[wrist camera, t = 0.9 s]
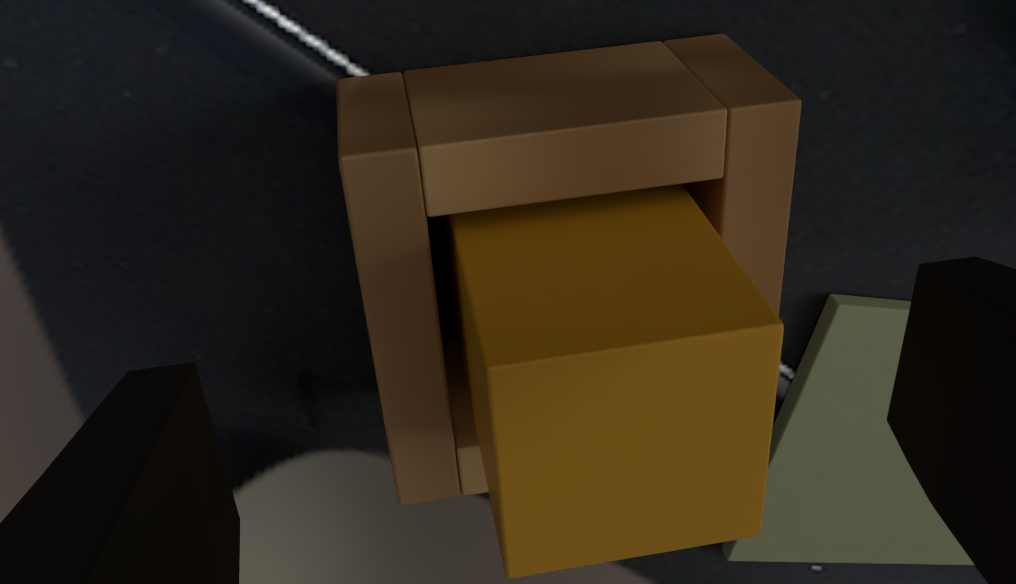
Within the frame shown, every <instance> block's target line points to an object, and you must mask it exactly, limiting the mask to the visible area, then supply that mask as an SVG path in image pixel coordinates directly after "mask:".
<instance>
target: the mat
mask: <svg viewBox="0 0 1016 584" xmlns="http://www.w3.org/2000/svg"><path fill="white" fill-rule="evenodd" d="M910 305H911V301H903V300H892V299H881V298H870V297H860V296H849V295H838V294H830V295H829V296H828V299H827V301H826V303H825V306H824V308H823V310H822V313H821V315H820V318H819V320H818V322H817V325H816V327H815V329H814V332H813V334H812V336H811V339H810V341H809V343H808V346H807V348H806V350H805V353H804V355H803V357H802V360H801V362H800V364H799V367H798V369H797V371H796V374H795V376H794V378H793V381H792V383H791V385H790V388H789V390H788V393H787V395H786V397H785V400H784V402H783V404H782V407H781V409H780V411H779V414H778V416H777V418H776V421H775V423H774V425H773V428H772V436H771V445H770V454H769V463H768V472H767V481H766V490H765V498H764V507H763V516H762V525H761V533H760V535H758V536H755V537H749V538H743V539H738V540H732V541H726V542H724V543H723V545H722V550H723V552H724V554H725V556H726V559H727V560H728V561H760V562H819V563H877V564H935V565H974V563H973V562H972V561H971V559H970V558H969V556H968V555H967V554H966V552H965V551H964V550H963V548H962V547H961V545H960V544H959V543H958V541H957V540H956V538H955V537H954V536H953V534H952V533H951V531H950V530H949V529H948V527H947V526H946V524H945V523H944V522H943V520H942V519H941V517H940V516H939V514H938V513H937V512H936V510H935V509H934V507H933V506H932V504H931V503H930V501H929V499H928V498H927V496H926V494H925V492H924V490H923V489H922V487H921V485H920V483H919V482H918V480H917V478H916V476H915V474H914V473H913V471H912V469H911V467H910V465H909V463H908V461H907V460H906V458H905V456H904V454H903V452H902V450H901V448H900V446H899V444H898V442H897V440H896V438H895V436H894V434H893V432H892V430H891V428H890V426H889V424H888V422H887V420H886V419H887V415H888V410H889V405H890V400H891V396H892V391H893V386H894V381H895V377H896V372H897V367H898V362H899V358H900V353H901V348H902V343H903V339H904V334H905V329H906V324H907V320H908V315H909V310H910Z"/></svg>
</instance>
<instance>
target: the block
mask: <svg viewBox="0 0 1016 584" xmlns="http://www.w3.org/2000/svg"><path fill="white" fill-rule="evenodd" d="M442 220H443V228H444V237H445V246H446V254H447V263H448V272H449V280H450V289H451V298H452V306H453V315H454V323H455V328H456V333H457V338H458V343H459V348H460V353H461V358H462V363H463V368H464V373H465V378H466V382H467V387H468V392H469V397H470V402H471V407H472V412H473V417H474V422H475V427H476V432H477V437H478V442H479V447H480V452H481V457H482V462H483V467H484V472H485V477H486V482H487V486H488V491H489V496H490V501H491V506H492V511H493V516H494V521H495V526H496V531H497V536H498V541H499V546H500V551H501V556H502V561H503V565H504V571H505V575H506V576H507V578H517V577H522V576H528V575H534V574H540V573H546V572H552V571H558V570H563V569H569V568H575V567H581V566H586V565H592V564H598V563H604V562H610V561H616V560H621V559H627V558H633V557H639V556H645V555H651V554H656V553H662V552H668V551H674V550H680V549H685V548H691V547H697V546H703V545H709V544H714V543H720V542H726V541H732V540H738V539H743V538H749V537H755V536H758V535H760V533H761V525H762V516H763V507H764V498H765V490H766V481H767V472H768V463H769V454H770V445H771V436H772V428H773V419H774V410H775V401H776V392H777V383H778V374H779V366H780V357H781V348H782V339H783V330H784V325H783V323H782V321H781V320H780V319H779V317H778V316H777V315H776V313H775V312H774V310H773V309H772V308H771V306H770V305H769V304H768V302H767V301H766V299H765V298H764V297H763V295H762V294H761V292H760V291H759V290H758V288H757V287H756V286H755V284H754V283H753V281H752V280H751V279H750V277H749V276H748V274H747V273H746V272H745V270H744V269H743V268H742V266H741V265H740V263H739V262H738V261H737V259H736V258H735V257H734V255H733V254H732V252H731V251H730V250H729V248H728V247H727V245H726V244H725V243H724V241H723V240H722V239H721V237H720V236H719V234H718V233H717V232H716V230H715V229H714V228H713V226H712V225H711V223H710V222H709V221H708V219H707V218H706V216H705V215H704V214H703V212H702V211H701V210H700V208H699V207H698V205H697V204H696V203H695V201H694V200H693V199H692V197H691V196H690V194H689V193H688V192H687V190H686V189H685V187H684V186H683V185H682V184H675V185H667V186H660V187H652V188H645V189H637V190H630V191H622V192H614V193H607V194H599V195H592V196H584V197H577V198H569V199H562V200H554V201H547V202H539V203H531V204H524V205H516V206H509V207H501V208H494V209H486V210H479V211H471V212H464V213H456V214H448V215H442Z"/></svg>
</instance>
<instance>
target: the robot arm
mask: <svg viewBox="0 0 1016 584" xmlns="http://www.w3.org/2000/svg"><path fill="white" fill-rule="evenodd" d="M886 420H887V422H888V424H889V426H890V428H891V430H892V432H893V434H894V436H895V438H896V440H897V442H898V444H899V446H900V448H901V450H902V452H903V454H904V456H905V458H906V460H907V461H908V463H909V465H910V467H911V469H912V471H913V473H914V474H915V476H916V478H917V480H918V482H919V483H920V485H921V487H922V489H923V490H924V492H925V494H926V496H927V498H928V499H929V501H930V503H931V504H932V506H933V507H934V509H935V510H936V512H937V513H938V514H939V516H940V517H941V519H942V520H943V522H944V523H945V524H946V526H947V527H948V529H949V530H950V531H951V533H952V534H953V536H954V537H955V538H956V540H957V541H958V543H959V544H960V545H961V547H962V548H963V550H964V551H965V552H966V554H967V555H968V556H969V558H970V559H971V561H972V562H973V563H974V565H975V566H976V568H977V569H978V570H979V572H980V573H981V574H982V576H983V577H984V579H985V580H986V581H987V583H988V584H1016V270H1015V269H1012V268H1009V267H1006V266H1004V265H1001V264H998V263H995V262H991V261H988V260H985V259H982V258H979V257H968V258H961V259H953V260H946V261H939V262H931V263H924V264H919V267H918V272H917V277H916V281H915V286H914V291H913V296H912V301H911V305H910V310H909V315H908V320H907V324H906V329H905V334H904V339H903V343H902V348H901V353H900V358H899V362H898V367H897V372H896V377H895V381H894V386H893V391H892V396H891V400H890V405H889V410H888V415H887V419H886ZM239 550H240V517H239V514H238V510H237V507H236V504H235V500H234V496H233V493H232V489H231V486H230V482H229V479H228V475H227V472H226V469H225V465H224V462H223V458H222V455H221V451H220V448H219V444H218V441H217V437H216V434H215V430H214V427H213V423H212V420H211V416H210V413H209V409H208V406H207V403H206V399H205V396H204V392H203V389H202V385H201V382H200V378H199V375H198V371H197V368H196V364H195V362H192V363H185V364H177V365H170V366H162V367H155V368H148V369H140V370H133V371H128V372H127V373H126V374H125V375H124V377H123V378H122V379H121V380H120V381H119V382H118V383H117V385H116V386H115V387H114V388H113V389H112V391H111V392H110V393H109V394H108V395H107V397H106V398H105V399H104V400H103V401H102V403H101V404H100V405H99V406H98V407H97V409H96V410H95V411H94V412H93V413H92V415H91V416H90V417H89V418H88V419H87V421H86V422H85V423H84V424H83V426H82V427H81V428H80V429H79V430H78V432H77V433H76V434H75V436H74V437H73V438H72V439H71V440H70V441H69V443H68V444H67V445H66V446H65V447H64V449H63V450H62V451H61V452H60V454H59V455H58V456H57V457H56V458H55V460H54V461H53V462H52V463H51V464H50V466H49V467H48V468H47V469H46V470H45V472H44V473H43V474H42V475H41V476H40V478H39V479H38V480H37V481H36V483H34V485H33V486H32V487H31V488H30V489H29V490H28V492H27V493H26V494H25V495H24V496H23V498H22V499H21V500H20V501H19V502H18V503H17V504H16V506H15V507H14V508H13V509H12V510H11V511H10V513H9V514H8V515H7V516H6V517H5V518H4V520H3V521H2V522H1V523H0V584H239V555H240V554H239V553H240V551H239Z"/></svg>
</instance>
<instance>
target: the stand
mask: <svg viewBox="0 0 1016 584" xmlns="http://www.w3.org/2000/svg"><path fill="white" fill-rule="evenodd" d="M336 95H337V139H338V164H339V170H340V175H341V181H342V187H343V192H344V198H345V204H346V209H347V215H348V221H349V226H350V232H351V238H352V243H353V249H354V255H355V260H356V266H357V272H358V277H359V283H360V289H361V294H362V300H363V306H364V311H365V317H366V323H367V328H368V334H369V340H370V345H371V351H372V357H373V362H374V368H375V374H376V380H377V385H378V391H379V397H380V402H381V408H382V414H383V419H384V425H385V431H386V436H387V442H388V448H389V453H390V459H391V464H392V470H393V476H394V482H395V486H396V493H397V499H398V502H399V504H400V505H409V504H415V503H421V502H427V501H433V500H440V499H446V498H452V497H457V496H459V495H460V493H462V494H463V495H472V494H478V493H484V492H489V491H488V486H487V482H486V477H485V472H484V467H483V462H482V457H481V452H480V447H479V442H478V437H477V432H476V427H475V422H474V417H473V412H472V407H471V402H470V397H469V392H468V387H467V382H466V378H465V373H464V368H463V363H462V358H461V353H460V348H459V343H458V340H453V341H447V342H442V336H441V328H440V320H439V312H438V304H437V296H436V288H435V280H434V272H433V264H432V256H431V248H430V240H429V232H428V224H427V216H429V217H433V216H441V215H448V214H456V213H464V212H471V211H479V210H486V209H494V208H501V207H509V206H516V205H524V204H531V203H539V202H547V201H554V200H562V199H569V198H577V197H584V196H592V195H599V194H607V193H614V192H622V191H630V190H637V189H645V188H652V187H660V186H667V185H675V184H682V185H683V186H684V187H685V189H686V190H687V192H688V193H689V194H690V196H691V197H692V199H693V200H694V201H695V203H696V204H697V205H698V207H699V208H700V210H701V211H702V212H703V214H704V215H705V216H706V218H707V219H708V221H709V222H710V223H711V225H712V226H713V228H714V229H715V230H716V232H717V233H718V234H719V236H720V237H721V239H722V240H723V241H724V243H725V244H726V245H727V247H728V248H729V250H730V251H731V252H732V254H733V255H734V257H735V258H736V259H737V261H738V262H739V263H740V265H741V266H742V268H743V269H744V270H745V272H746V273H747V274H748V276H749V277H750V279H751V280H752V281H753V283H754V284H755V286H756V287H757V288H758V290H759V291H760V292H761V294H762V295H763V297H764V298H765V299H766V301H767V302H768V304H769V305H770V306H771V308H772V309H773V310H774V312H775V313H776V315H777V316H779V307H780V297H781V288H782V279H783V270H784V260H785V251H786V242H787V233H788V224H789V214H790V205H791V196H792V187H793V177H794V168H795V159H796V150H797V141H798V131H799V122H800V113H801V104H802V103H801V99H800V98H798V97H797V96H796V95H795V94H794V93H793V92H791V91H790V90H789V89H788V88H787V87H786V86H784V85H783V84H782V83H781V82H780V81H779V80H777V79H776V78H775V77H774V76H773V75H772V74H770V73H769V72H768V71H767V70H766V69H765V68H763V67H762V66H761V65H760V64H759V63H758V62H756V61H755V60H754V59H753V58H752V57H751V56H749V55H748V54H747V53H746V52H745V51H744V50H742V49H741V48H740V47H739V46H738V45H736V44H735V43H734V42H733V41H732V40H731V39H729V38H728V37H727V36H726V35H725V34H716V35H708V36H699V37H691V38H682V39H674V40H666V41H664V43H663V42H661V41H656V42H647V43H639V44H630V45H622V46H613V47H605V48H596V49H587V50H579V51H570V52H562V53H553V54H545V55H536V56H528V57H519V58H510V59H502V60H493V61H485V62H476V63H468V64H459V65H450V66H442V67H433V68H425V69H416V70H408V71H405V72H404V73H403V75H402V73H399V72H395V73H386V74H378V75H369V76H361V77H352V78H343V79H339V80H337V83H336ZM426 214H427V216H426Z"/></svg>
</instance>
